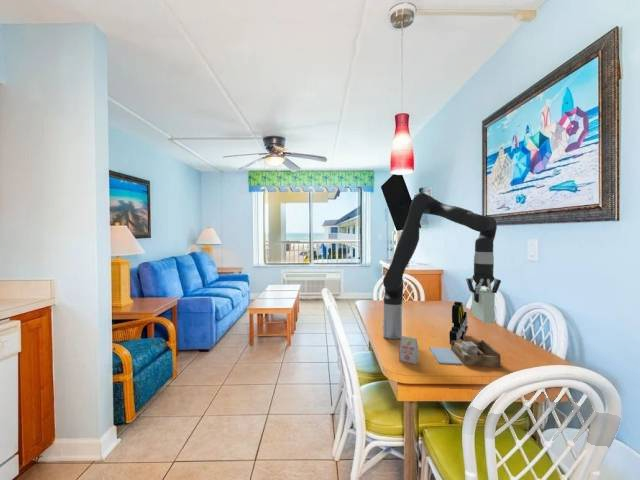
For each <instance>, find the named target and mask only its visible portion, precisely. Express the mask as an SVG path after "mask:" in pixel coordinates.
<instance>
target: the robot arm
mask: <svg viewBox="0 0 640 480" xmlns="http://www.w3.org/2000/svg"><path fill="white" fill-rule="evenodd" d="M424 214H425V215H433V216H437V217H442V218H443V219H446V220H448V221H451V222H453V223H455V224H458V225H461V226H465V227H466V228H469V229H471V230H473V231H475V232H479V234H478V237H477V238H476V239H475V241H474V242H475V243H474V256H473V275H472V277H467V278H465V281H466V284H467V286H468V290H469V292H471V293H472V292H473V293H474V301H475V302H476V303H479V294H478V293H479V290H480V289H481V288H482V287H485V290H488V291H490V292H492V293H495V294H497V292H498V290H499V289H500V285H501V283H502V281H501V279H498V278H495V277H494V265H495V264H494V263H495V262H494V260H495V259H494V258H495V257H494V240H495V238H496V233H497V220H496V219H495V218H494V217H493V216H490V215H483V214H478V213H475V212H473V211H472V210H468V209H466V208H462V207H459V206H454V205H449V204H445V203H443V202H441V201H439V200H437V199H435V198H434V197H433V196H431V195H429V194H427V193H424V192H418V193H417V194H415V195H414V196H413V198H412V200H411V203H410V206H409V210H408V214H407V217H406V220H405V223H404V226H403V229H402V231H401V234H400V237H399V239H398V242H397V244H396V247H395V250H394V254H393V256H392V260H391V263H390V265H389V267H388V269H387V271H386V273H385V275H384V277H383V280H382V284H383V287H384V296H383V317H382V335H383V338H384V339H390V340H399V339H401V336H403V334H402V333H403V328H402V327H403V296H404V295H403V294H404V278H403V277H404V274H405V273H404V272H405V271H406V268H407V266H408V264H409V263H410V261H411V259H412V257H413V256H414V253H415V251H416V249H417V246H418V244H419V242H420V223H421V220H422V217H423V215H424ZM473 281H474V282H473ZM473 283H475V285H474V286H473ZM492 283H493V287H492V285H491V284H492ZM474 288H475V289H474Z"/></svg>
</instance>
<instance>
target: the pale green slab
mask: <svg viewBox="0 0 640 480" xmlns="http://www.w3.org/2000/svg"><path fill="white" fill-rule="evenodd" d="M473 288H474V289H475V287H473ZM478 294H479V303H476V302H475V301H474V293H473V292H471V315H472V316H473V317H475V318H477V320H479V321H481V322H482V323H485V324H486V323H487V324H488V323H489V324H494V323H495V297H496V293H492V292H490V291H488V290H486V288H483V287H481V289H480V290H479V293H478Z"/></svg>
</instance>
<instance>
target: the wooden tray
mask: <svg viewBox="0 0 640 480" xmlns="http://www.w3.org/2000/svg"><path fill="white" fill-rule="evenodd" d="M462 341H463V340H459V341H451V344H450V349H451V351H452V352H453V353H454V354H455V355H456V357H457V358H458V359H459V360H460V361H461V363H462V365H464V366H469V367H470V366H473V367H488V368H491V367H493V368H501V354H500V353H499V352H498V351H497V350H496V349H495V348H493V347H492V346H491V345H490V344H489V343H487V342H486V341H485V340H483V339H481V340H480V341H471V340H469V339H466V340H464V341H465V342H473V343H474V344H475V345H477V355H464V356H463V355H462V354H461V353H460V352H459V350H458V349H457V348H456V347H455V346H454V342H462Z"/></svg>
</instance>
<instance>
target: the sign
mask: <svg viewBox="0 0 640 480" xmlns="http://www.w3.org/2000/svg"><path fill="white" fill-rule="evenodd" d="M451 323H452V324H453V326H451V330H450V331H449V333H448V334H449V335H448V336H449V344H450V345H451V341H461V340H464V338H465V336H466V333H467V331H468V329H469V326H468V312H467V311H464V304H463V302H461V301H454V303H453V304H452V307H451Z"/></svg>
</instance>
